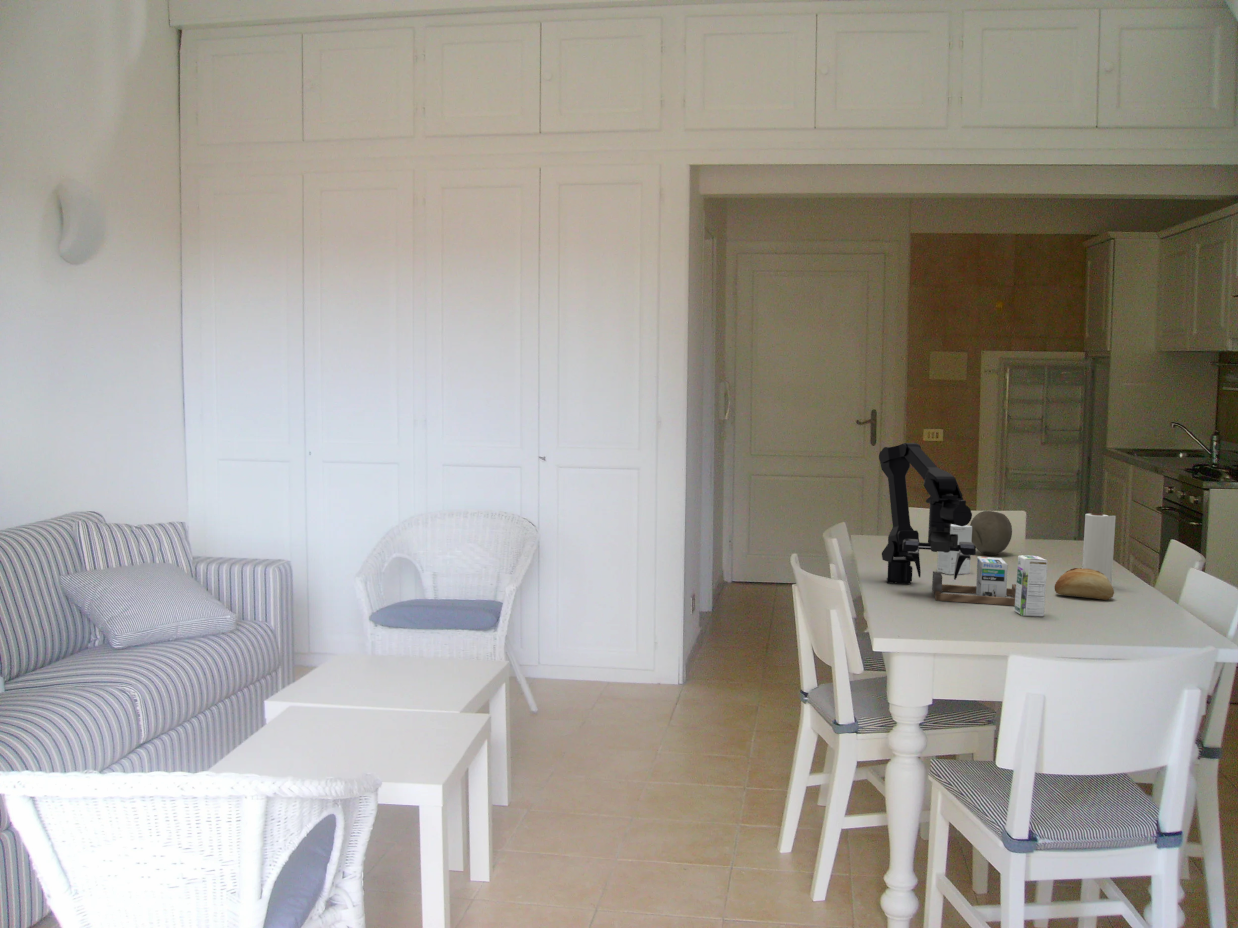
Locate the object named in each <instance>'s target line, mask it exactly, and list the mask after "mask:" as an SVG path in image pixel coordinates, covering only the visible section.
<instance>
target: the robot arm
mask: <svg viewBox="0 0 1238 928" xmlns="http://www.w3.org/2000/svg"><path fill="white" fill-rule="evenodd" d="M878 459H879V463H880V468H881V471H882V472H883V473H884V475H885V476H886V477H887V481H888V482H887V483H888V490H889V491H888V493H889V501H890V503H889V504H890V513H891V522H892V524H891V525H892V528H891V530H890V532H889V534H888V537H887V539H888V540H887V544H886V546H885V547H884V549H883V550H882V551H881V559H882V561H885V562H887V576H886V583H887V584H899V585H902V584H903V585H911V582H912V581H913V566H912V565H911V562H912V563H913V562H914V563H915V567H916V571H917V575H918V578H921V573H922V572H921V571H922V570H921V561H920V560H921V559H920V550H927V551H929V550H930V551H931V552H933V553H938V551H939V552H945V553H948V552H950V551H958V552H959V553H957V558H956V564H955V571H954V574H953V579H954V580H957V578H958V576H959V574H958V573H959V570H960V568H961V566H962V564H963V562H964V561H965V559H966V558H970V555H971V556H976V554H977V553H976V550H977V549H976V546H975V545H974V544H973V543H972V542H959V545H958V534H950V531H951V524H953V525H958V526H966V525H967V526H968V524H970V523H971V521H972V519H973V518H972V517H973V512H972V510H971V508H970V507H969V506H968V505H966V504H967V501H966V500H965V499H964V498H963V497H964V496H963V493H962V492H961V490H960V486H959V484H958V481H957V478H956V477H955V476H954V475H952V473H950V472H949V471H946V470H943V469H941V468H939V467H938V466H937V465H936V464H935V463H934V461H933V460H932V459H931V458H930V457H929V456H928V455H927V454H926V452H925V451H924V450H923V449H922V446H921V444H919V443H916V442H904V443H900V444H899V445H895V446H884V447H883V448H882V449H881V450H880V452H879V453H878ZM910 467H912V468H914V470H915V471H916V472H917V474H919V476H920V477H921V478H922V479H923V487H924V488H925V490H926V492H927V493H928V495H929V497H928V498H926V500H925V503H928V504H929V513H928V514H929V516H928V535H927V537H928V538H927V542H920V539H919V537H920V536H919V535H920V533H919V532H918V530H917V529H916V530H914V528H913V527H912V526H911V519H910V518H911V517H910V509H909V508H910V507H909V499H908V498H909V497H908V490H907V480H906V477H907V474H908V472H909V469H910ZM954 580H953V581H954Z"/></svg>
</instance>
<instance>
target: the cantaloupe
mask: <svg viewBox="0 0 1238 928" xmlns="http://www.w3.org/2000/svg"><path fill="white" fill-rule="evenodd" d="M969 526H972V541H971V542H972V543H973V544H974V545H975V546H976V550H977V551H979V552H980V553H981V554H984V555H987V556H996V555H998V554H1001V553H1002V552H1003V551H1005V549H1007V547H1008V546H1009V544H1010V542H1011V540H1012V537H1013V536H1012V535H1013V527H1012V523H1011V521H1010V519H1009V518H1008V516H1006V514H1004V513H1001V512H997V511H992V510H983V511H980V512H978V513H976V514H975V515H974V516H973V518H971V521H970V523H969Z"/></svg>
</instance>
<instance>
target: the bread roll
mask: <svg viewBox="0 0 1238 928" xmlns="http://www.w3.org/2000/svg"><path fill="white" fill-rule="evenodd" d="M1054 592H1055V593H1056V594H1058V595H1060V596H1065V597H1066V596H1068V597H1077V598H1084V599H1085V598H1087V599H1096V600H1101V601H1108V600H1111V599H1112V598H1113V597H1114V594H1115V590H1114V587H1113V585H1111V583H1110V581H1109V580H1108V578H1107V577H1106V576H1105V575H1104V574H1103V573H1101V572H1099V571H1096V570H1092V569H1086V568H1084V569H1082V567H1081V568H1078V567H1073V568H1071V569H1069V570H1066V571H1065V572H1064V573H1063V574H1062V575H1060V576H1059V577H1058V579H1057V580H1056V582H1055V584H1054Z"/></svg>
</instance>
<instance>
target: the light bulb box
mask: <svg viewBox="0 0 1238 928" xmlns="http://www.w3.org/2000/svg"><path fill="white" fill-rule="evenodd" d="M976 561H977V565H976V585H975V586H976V593H975V595H977V596H992V597H1007V595H1006V590H1007V588H1008V585H1007V584H1008V570H1009V569H1008V568H1009V567H1008V566H1009V563H1007V562H1006V561H1005V560H1004V559H1003V558H1002V557H993V556H992V557H991V556H980V555H979V556H977V560H976Z"/></svg>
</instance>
